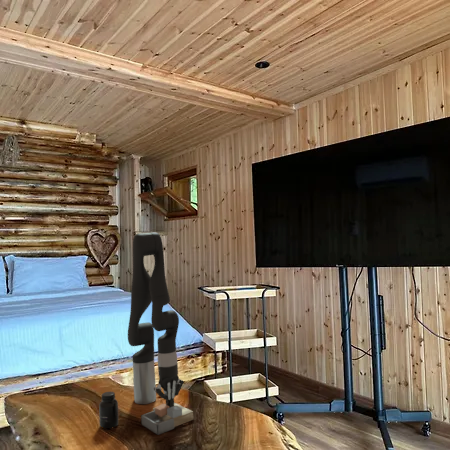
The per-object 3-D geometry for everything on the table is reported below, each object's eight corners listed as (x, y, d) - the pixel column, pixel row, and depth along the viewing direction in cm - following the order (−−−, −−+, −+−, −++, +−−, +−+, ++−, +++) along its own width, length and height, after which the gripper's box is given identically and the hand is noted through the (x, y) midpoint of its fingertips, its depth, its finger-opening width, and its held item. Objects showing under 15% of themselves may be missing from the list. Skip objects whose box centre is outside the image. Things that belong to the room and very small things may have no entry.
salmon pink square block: (155, 413, 159) (154, 407, 159) (164, 409, 161) (163, 403, 161) (161, 416, 156) (160, 410, 156) (170, 412, 158) (169, 406, 158)
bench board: (153, 416, 164) (152, 408, 164) (172, 408, 169) (172, 401, 170) (173, 427, 152) (172, 419, 153) (193, 419, 158) (193, 411, 158)
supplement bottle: (99, 431, 153) (98, 398, 153) (100, 423, 160) (98, 392, 160) (118, 427, 155) (117, 395, 155) (118, 420, 161) (117, 389, 162)
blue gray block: (167, 415, 156) (166, 408, 156) (176, 412, 159) (175, 405, 159) (173, 418, 153) (172, 411, 153) (182, 414, 156) (181, 408, 156)
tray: (141, 424, 156) (141, 415, 157) (157, 418, 161) (157, 409, 161) (157, 434, 147) (157, 424, 147) (174, 428, 152) (173, 418, 152)
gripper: (176, 357, 168) (178, 400, 168) (147, 365, 160) (150, 411, 159) (187, 360, 163) (189, 405, 162) (158, 369, 154) (160, 416, 153)
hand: (170, 408), depth 161 cm, fingers closed
